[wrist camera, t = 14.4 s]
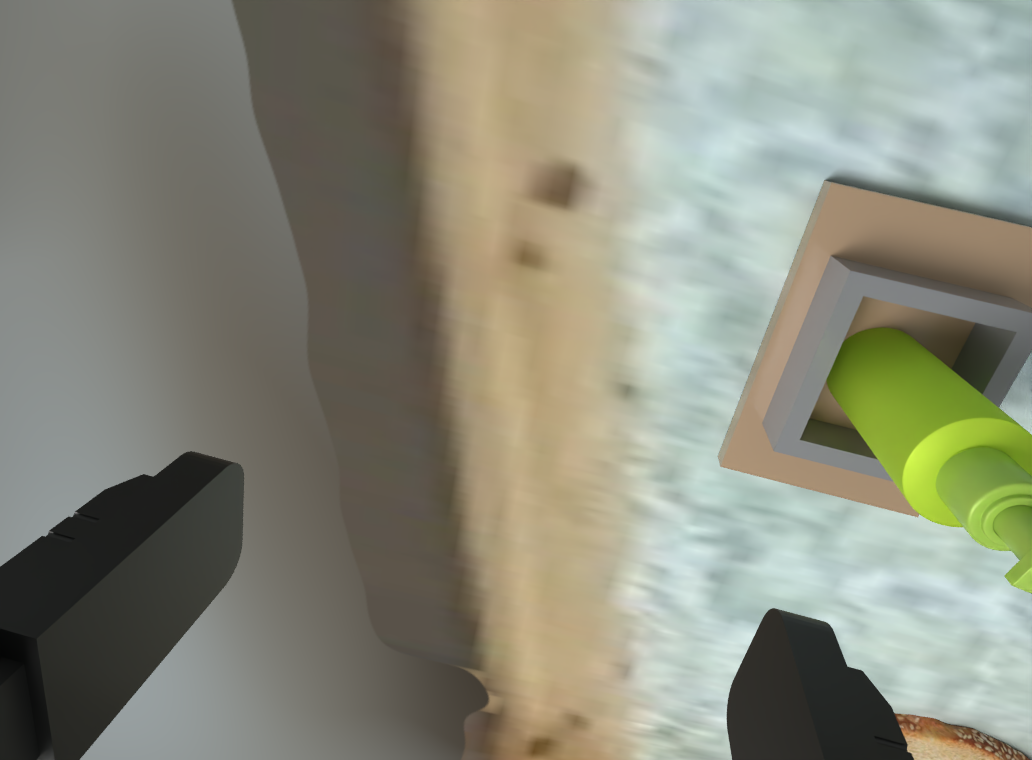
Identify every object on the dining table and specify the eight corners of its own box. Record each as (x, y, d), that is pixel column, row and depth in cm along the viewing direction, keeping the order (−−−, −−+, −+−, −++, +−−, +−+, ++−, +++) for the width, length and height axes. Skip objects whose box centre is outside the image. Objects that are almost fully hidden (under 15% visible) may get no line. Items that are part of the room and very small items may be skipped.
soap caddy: (824, 180, 40) (852, 190, 35) (1059, 233, 39) (1123, 251, 34) (717, 456, 48) (728, 497, 43) (909, 505, 47) (942, 553, 42)
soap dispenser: (954, 333, 40) (1221, 519, 22) (890, 424, 43) (1081, 655, 25) (866, 298, 40) (1061, 456, 22) (808, 391, 43) (939, 598, 25)
